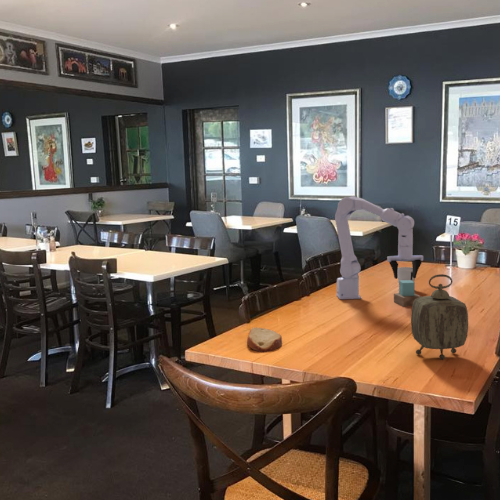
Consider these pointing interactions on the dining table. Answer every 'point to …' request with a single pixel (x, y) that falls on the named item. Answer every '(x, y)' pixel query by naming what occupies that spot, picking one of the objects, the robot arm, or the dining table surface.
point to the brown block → (405, 299)
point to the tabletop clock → (439, 320)
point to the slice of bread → (263, 339)
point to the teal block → (406, 287)
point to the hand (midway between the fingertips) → (405, 278)
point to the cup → (405, 273)
